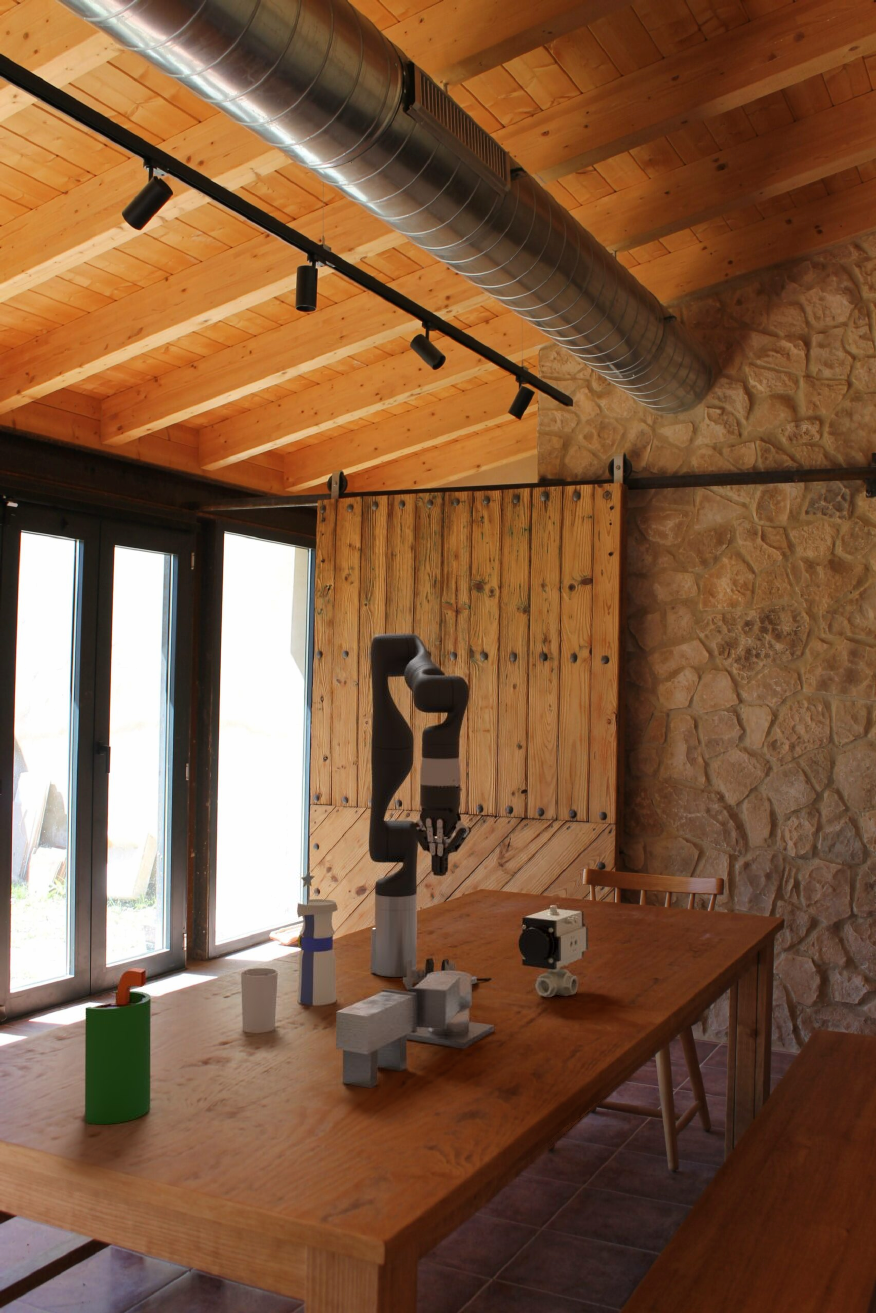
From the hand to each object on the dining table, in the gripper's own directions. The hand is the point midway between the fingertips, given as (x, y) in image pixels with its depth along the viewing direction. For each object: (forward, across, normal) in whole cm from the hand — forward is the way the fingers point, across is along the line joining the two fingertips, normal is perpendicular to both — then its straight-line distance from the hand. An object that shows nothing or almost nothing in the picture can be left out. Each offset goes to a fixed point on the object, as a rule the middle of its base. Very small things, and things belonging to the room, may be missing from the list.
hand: (439, 875), depth 204 cm
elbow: (+21, +8, -12) cm, 26 cm away
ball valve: (+28, +8, +30) cm, 41 cm away
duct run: (+26, +10, -32) cm, 42 cm away
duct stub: (+26, +7, -7) cm, 28 cm away
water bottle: (+27, -28, -3) cm, 39 cm away
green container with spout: (+26, -11, -65) cm, 71 cm away
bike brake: (+28, -13, +22) cm, 38 cm away
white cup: (+27, -24, -23) cm, 43 cm away
